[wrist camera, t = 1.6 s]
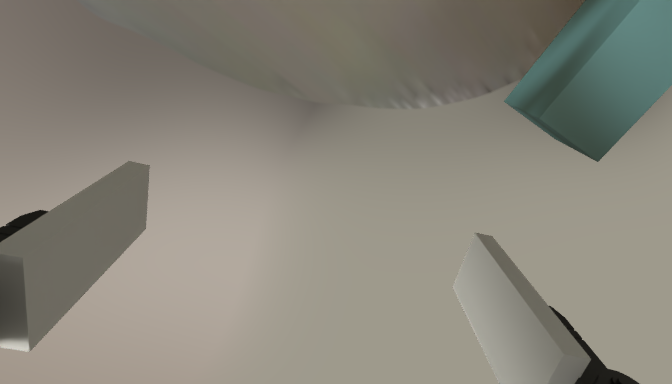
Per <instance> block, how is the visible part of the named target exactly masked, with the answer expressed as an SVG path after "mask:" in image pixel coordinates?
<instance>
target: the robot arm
mask: <svg viewBox="0 0 672 384" xmlns="http://www.w3.org/2000/svg"><path fill="white" fill-rule="evenodd" d="M148 183H149V165H144V164H140V163H135V162H131V161H128V162H127V163H125V164H124V165H122V166H120V167H119V168H117V169H116V170H114V171H113V172H111V173H109V174H108V175H106V176H105V177H103V178H101V179H100V180H98V181H97V182H95V183H94V184H92V185H90V186H89V187H87V188H86V189H84V190H83V191H81V192H79V193H78V194H76V195H75V196H73V197H71V198H70V199H68V200H67V201H65V202H63V203H62V204H60V205H59V206H57V207H55V208H54V209H52V210H51V211H49V212H48V211H43V210H39V211H35V212H32V213H28V214H25V215H22V216H20V217H18V218H16V219H14V220H13V221H11V222H9V223H8V224H6V226H3V227H1V228H0V347H2V348H8V349H15V350H21V351H27V352H30V351H31V350H32V349H33V348H34V347H35V345H36V344H37V343H38V342H39V341H40V340H41V339H42V338H43V337H44V336H45V335H46V334H47V333H48V332H49V331H50V330H51V329H52V328H53V326H54V325H55V324H56V323H57V322H58V321H59V320H60V319H61V318H62V317H63V316H64V315H65V314H66V313H67V312H68V310H70V308H71V307H72V306H73V305H74V304H75V303H76V302H77V301H78V300H79V299H80V298H81V297H82V296H83V295H84V294H85V292H87V291H88V289H89V288H90V287H91V286H92V285H93V284H94V283H95V282H96V281H97V280H98V279H99V278H100V277H101V276H102V275H103V274H104V272H105V271H106V270H107V269H108V268H109V267H110V266H111V265H112V264H113V263H114V262H115V261H116V260H117V259H118V258H119V257H120V256H121V254H122V253H123V252H124V251H125V250H126V249H127V248H128V247H129V246H130V245H131V244H132V243H133V242H134V241H135V240H136V239H137V238H138V237H139V235H140V234H141V233H142V232H143V231H144V230H145V229H146V217H147V200H148ZM453 290H454V291H455V294H456V296H457V298H458V300H459V301H460V304H461V306H462V308H463V310H464V312H465V314H466V316H467V318H468V320H469V322H470V324H471V326H472V329H473V331H474V333H475V335H476V337H477V339H478V341H479V343H480V345H481V346H482V349H483V351H484V353H485V355H486V357H487V359H488V361H489V363H490V366H491V368H492V369H493V372H494V373H495V376H496V378H497V380H498V382H499V384H639V383H638V382H636V381H635V380H633V379H632V378H630V377H628V376H626V375H624V374H622V373H620V372H618V371H614V370H610V369H607V368H606V366H605V365H604V364H603V363H602V362H601V360H600V359H599V358H598V357H597V356H596V354H595V353H594V352H593V351H592V350H591V348H590V347H589V346H588V345H587V344H586V342H585V341H584V340H582V338H581V336H580V335H579V334H578V333H577V332H576V331H574V328H573V327H572V326H571V325H570V323H569V322H568V321H567V320H566V318H565V317H563V316H562V315H561V314H560V313H559V312H557V311H556V310H555V309H554V308H552V307H551V306H548V305H547V304H546V302H545V301H544V300H543V299H542V298H541V296H540V295H539V294H538V293H537V291H536V290H535V289H534V288H533V286H532V285H531V284H530V283H529V281H528V280H527V279H526V278H525V276H524V275H523V274H522V273H521V271H520V270H519V269H518V268H517V267H516V265H515V264H514V263H513V262H512V260H511V259H510V258H509V257H508V255H507V254H506V253H505V252H504V250H503V249H502V248H501V247H500V245H499V244H498V243H497V242H496V241H495V239H494V238H493V237H492V236H489V235H484V234H479V233H474V236H473V238H472V241H471V243H470V246H469V248H468V250H467V253H466V255H465V258H464V260H463V263H462V265H461V268H460V270H459V273H458V275H457V278H456V280H455V282H454V285H453Z"/></svg>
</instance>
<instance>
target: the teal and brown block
mask: <svg viewBox="0 0 672 384" xmlns="http://www.w3.org/2000/svg"><path fill="white" fill-rule="evenodd" d="M671 85H672V0H585V2H584V3H583V4H582V5H581V7H580V8H579V9H578V10H577V12H576V13H575V14H574V15H573V16H572V18H571V19H570V20H569V21H568V23H567V24H566V25H565V26H564V28H563V29H562V30H561V31H560V33H559V34H558V35H557V36H556V38H555V39H554V40H553V41H552V43H551V44H550V45H549V46H548V47H547V49H546V50H545V51H544V52H543V54H542V55H541V56H540V57H539V59H538V60H537V61H536V62H535V64H534V65H533V66H532V67H531V69H530V70H529V71H528V72H527V74H526V75H525V76H524V77H523V78H522V80H521V81H520V82H519V83H518V85H517V86H516V87H515V88H514V90H513V91H512V92H511V93H510V95H509V96H508V97H507V98H506V100H505V101H504V102H505V103H507V104H508V105H510V106H511V107H513V109H515V110H516V111H518V112H519V113H520V114H522V115H523V116H524V117H526V118H527V119H529V120H530V121H531V122H533V123H534V124H535V125H537V126H538V127H540V128H541V129H542V130H543V131H545V132H546V133H548V134H549V135H550V136H552V137H553V138H554V139H556V140H558V141H560V142H562V143H564V144H566V145H567V146H569V147H571V148H573V149H575V150H577V151H578V152H580V153H582V154H584V155H586V156H588V157H590V158H591V159H593V160H595V161H597V162H598V161H599V160H600V159H601V158H602V157H603V156H604V155H605V154H606V153H607V152H608V151H609V150H610V149H611V148H612V146H614V144H616V142H617V141H618V140H619V139H620V138H621V137H622V136H623V135H624V134H625V133H626V132H627V131H628V130H629V129H630V128H631V127H632V126H633V125H634V124H635V123H636V122H637V121H638V120H639V118H640V117H641V116H642V115H643V114H644V113H645V112H646V111H647V110H648V109H649V108H650V107H651V106H652V105H653V104H654V103H655V102H656V101H657V100H658V99H659V98H660V97H661V96H662V94H663V93H664V92H665V91H666V90H667V89H668V88H669V87H670V86H671Z"/></svg>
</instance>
